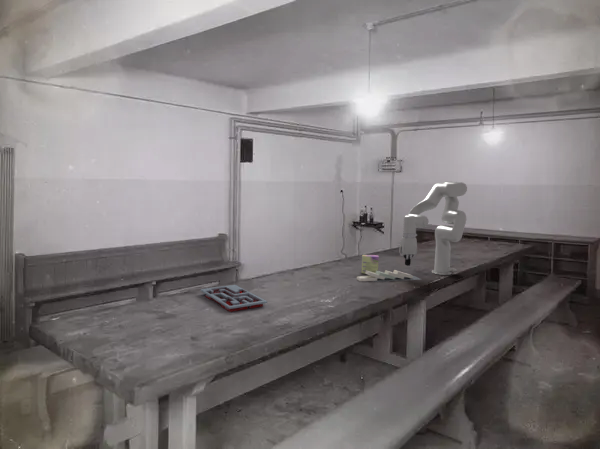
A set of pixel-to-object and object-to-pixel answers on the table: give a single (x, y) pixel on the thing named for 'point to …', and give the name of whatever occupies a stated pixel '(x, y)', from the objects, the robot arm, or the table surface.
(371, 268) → the box
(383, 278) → the domino
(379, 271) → the domino
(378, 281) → the mat
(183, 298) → the table surface
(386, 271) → the domino
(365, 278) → the domino
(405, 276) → the domino
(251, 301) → the maze game
